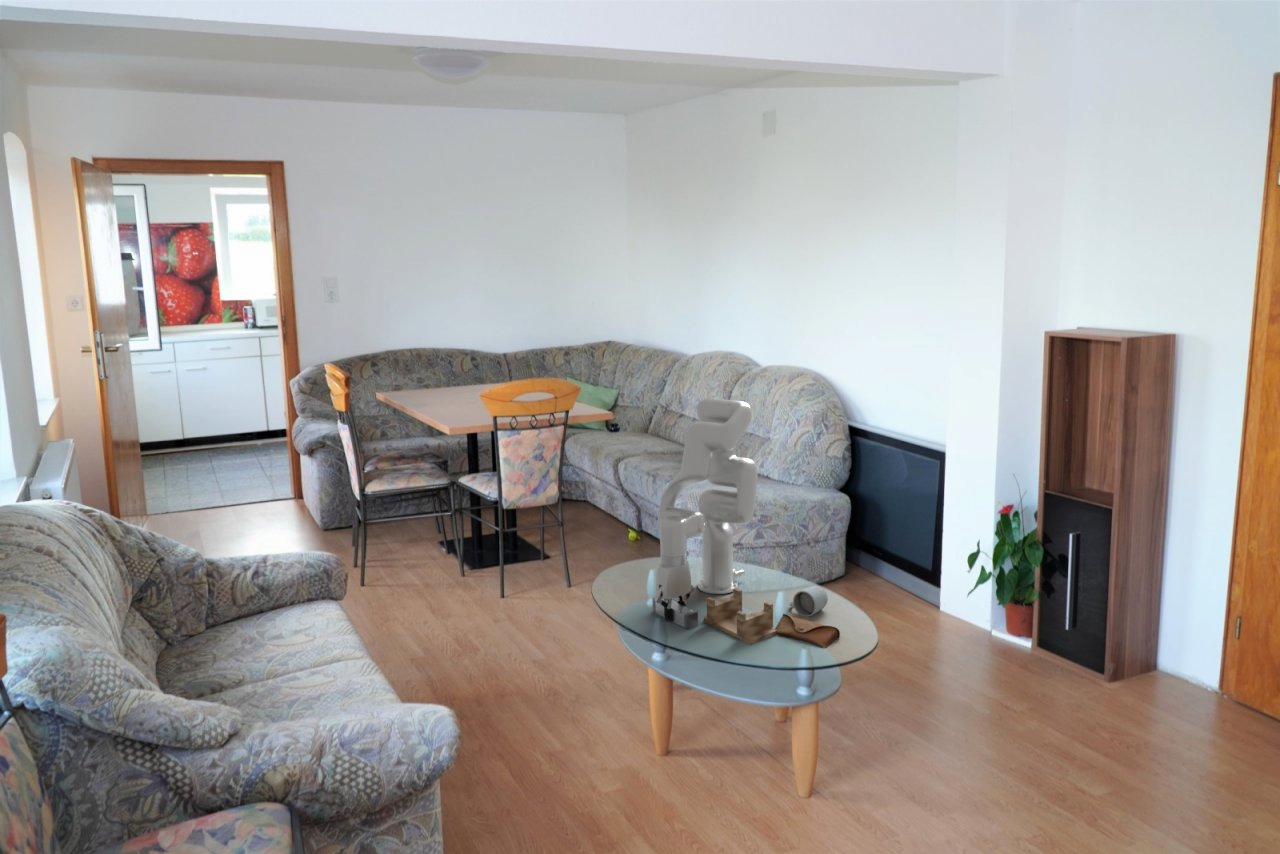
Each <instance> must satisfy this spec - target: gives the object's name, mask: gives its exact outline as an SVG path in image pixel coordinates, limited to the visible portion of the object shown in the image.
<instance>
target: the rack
mask: <svg viewBox="0 0 1280 854" xmlns="http://www.w3.org/2000/svg"><path fill="white" fill-rule="evenodd" d="M732 593H733V595H731V596H727V597H725V598H722V599H719V600H716V599H715V598H713V597H711V596H709V597H708V596H707V597H706V598H705V599H706V602H705V603H706V616H704V617H703V623H706V624H708V625H709V626H710V625H711V626H712V627H713V628H716V629H718V630H720V631H722V632H724V633H726V634H728V635H730V636H732V637H734V636H735V637H734V638H736V637H737V639H738V638H739V639H738V640H740V639H741V640H740V641H742V640H743V641H742V642H744V641H745V642H744V643H746V642H748V643H750V644H749V645H752V644H751V643H753V644H755V642H756V643H758V642H761V641H763V640H766V639H768V638H772V637H774V636H777V635H776V633H777V630H775V628H773V627H774V604H773V603H771V602H769V601H764V602H763V609H761V610H758V611H756V612H752V613H750V614H747V613H746V612H743V590H742V589H740V588H739V587H738V588H735V589H733V592H732ZM748 643H747V644H748Z"/></svg>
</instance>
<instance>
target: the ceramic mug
mask: <svg viewBox="0 0 1280 854" xmlns="http://www.w3.org/2000/svg"><path fill="white" fill-rule="evenodd" d="M827 604H828V594H827V592H826V590H824V589H823V588H822V587H820V586H817V585H812V586H810V587H806V588H804V589H802V590H799V591H797V592H796V593H795V595H794V597H793V601H791V602H790V603H789V607H790V606H791V607H790V609H795V611H796V612H797V614H799V615H800V616H802V617H805V618H809V617H811V616H814V614H816V613H818V612H820V611H822V610H823V609H824V608H826V606H827Z"/></svg>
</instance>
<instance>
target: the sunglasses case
mask: <svg viewBox="0 0 1280 854" xmlns="http://www.w3.org/2000/svg"><path fill="white" fill-rule="evenodd" d="M774 629H775V630H777V633H776V635H775V636H779V637H783V638H784V637H785V638H789V639H792V640H795V641H800V642H803V643H806V644H811V645H815V646H818V647H820V648H824V649H827V648H828V647H829V646H830V645H831V644H833V643H834V642H835V641H837V640H838V638H839V639H840V638H841V632H840V630H839V629H838V628H837V627H835V626H832V625H825V624H822V623H818V622H814V621H810V620H808V619H803V618H799V617H795V616H791V615H788V614H786V613H783V614H782V616H781V618H780V620H779V621H778V623H777V625H776V626H775V628H774Z"/></svg>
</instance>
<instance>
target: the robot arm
mask: <svg viewBox="0 0 1280 854" xmlns="http://www.w3.org/2000/svg"><path fill="white" fill-rule="evenodd" d="M752 413H753V411H752V408H751V406H750V404H749V403H747V402H745V401H741V400H734V399H732V400H730V399H723V398H722V399H721V398H714V397H713V398H710V397H709V398H702V399H701V400H698V402H697V405H696V414H697V415H696V416H697V418H698V420H699V421H695V422H693V423H691V424H690V425H689V426H688V428H687V431H686V435H685V443H684V447H683V449H684V450H683V454H682V461H681V466H680V471H679V473H678V474H677V475H676V476H675V477H674V478H673V479H671V481H670V482H669V483H668V485H667V486H666V488H665V489H664V490H663V493H662V495H661V498H660V503H659V506H658V507H659V508H658V509H659V510H658V515H657V516H658V517H657V523H658V525H659V542H660V543H659V544H660V545H659V547H660V551H659V552H660V563H659V564H658V565H657V571H656V576H655V577H656V580H655V593H656V595H655V597H654V598H655V599H654V601H655V602H657V603H659V604H661V605H662V606H663V607H664V617H665V618H664V617H663V618H664V619H665V620H667V621H668V622H672V621H673V609H672V608H671V603H672V600H674V599H675V598H677V599H678V601H676V602H677V603H679V604H681V605H684V606H686V607H687V605H686V604H688V601H689V598H690V597H691V595H692V594H693V592H695V588H694V586H693V585H692V576H691V567H690V564H689V561H688V558H687V557H688V556H690V552H689V551H688V550H687V540H688V539H691V538H692V539H693V538H695V537H696V538H697V537H698V536H700V535H701V553H702V554H701V555H702V557H701V558H702V561H701V562H702V563H701V564H702V579H700V580H698V582H697V587H698V590H699V591H701V592H703V593H705V594H711V595H725V594H730V593H733V589H735V588H738V589H739V582H738V581H737V580H736V579H738V577H742V576H744V575H745V570H744V569H739V570H736V569H735V568H734V546H733V545H734V537H733V530H732V528H731V525H730V524H734V525H741V526H743V525H748V524H750V522H751V521H752V520H753V518H754V515H755V509H756V498H757V487H758V486H757V485H758V476H759V475H758V468H757V464H756V463H755V461H753V460H752V459H751V458H747V457H741V456H737V455H736V454H737V453H736V452H737V444H738V442H739V441H740V439H741V437H742V436H743V435H744V433H745V432H746V431H747V429H748V428H749V426H750V423H751V420H752V417H753V415H752ZM705 480H707V481H708V483H710V484H712V485H715V486H721V487H725V488H733V489H736V492H735V491H731V490H730V491H729V490H723V489H714V488H712V489H707V490H704V491H702V492H701V494H700V495H699V497H698V501H697V507H698V510H691V509H687V508H681V507H675V504H676V501H677V497H678V496H679V494H680V493H681V492H682V491H683V490H684V489H686V488H687V487H689V486H690V485H691V486H692V485H693V484H696V483H700V482H703V481H705ZM662 596H663V600H662V599H661V598H662ZM667 600H668V601H667ZM672 623H673V622H672Z"/></svg>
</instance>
